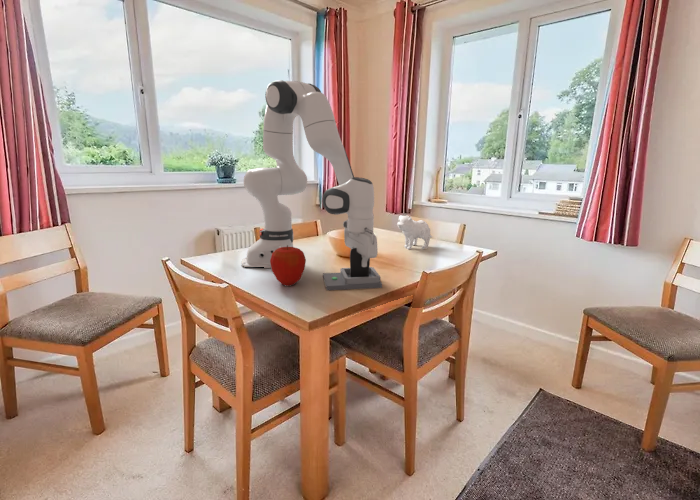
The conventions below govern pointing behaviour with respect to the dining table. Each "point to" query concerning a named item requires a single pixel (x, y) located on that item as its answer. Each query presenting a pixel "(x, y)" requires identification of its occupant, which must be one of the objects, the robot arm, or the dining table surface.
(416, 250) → the dining table surface
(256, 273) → the dining table surface
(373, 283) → the charging dock
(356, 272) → the battery
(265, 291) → the dining table surface
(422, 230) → the white dog figurine
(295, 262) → the apple
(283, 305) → the dining table surface
